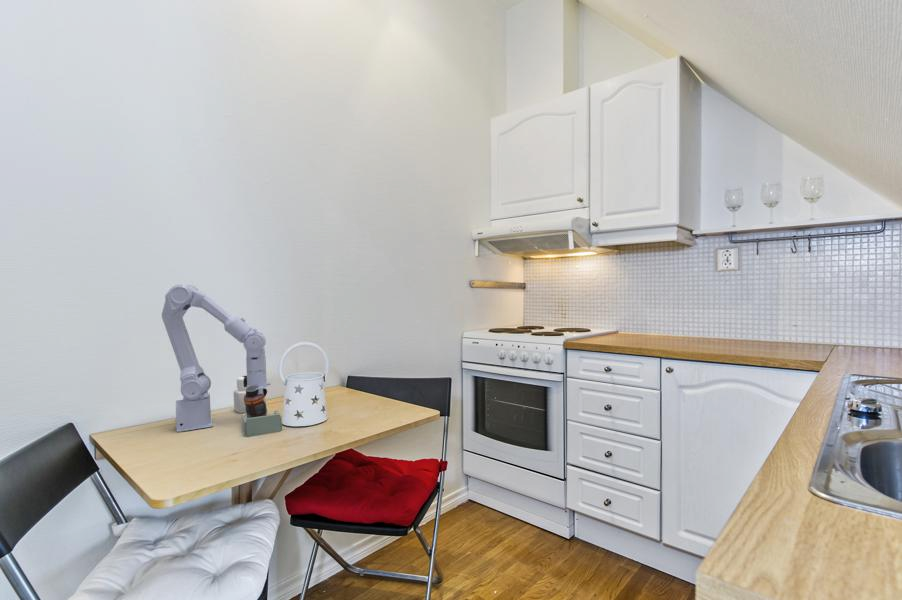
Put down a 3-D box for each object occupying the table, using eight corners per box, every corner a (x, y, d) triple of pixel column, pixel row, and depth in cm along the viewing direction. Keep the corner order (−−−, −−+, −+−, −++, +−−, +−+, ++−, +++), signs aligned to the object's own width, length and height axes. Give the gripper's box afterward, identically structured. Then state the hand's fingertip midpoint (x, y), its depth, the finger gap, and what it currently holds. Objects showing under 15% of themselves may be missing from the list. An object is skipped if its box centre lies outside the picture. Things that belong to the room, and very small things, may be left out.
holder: (245, 437, 127) (244, 419, 127) (242, 428, 135) (242, 412, 135) (282, 431, 132) (281, 414, 132) (278, 423, 140) (277, 407, 140)
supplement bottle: (272, 416, 143) (267, 384, 140) (260, 426, 138) (254, 394, 134) (256, 413, 145) (251, 382, 141) (243, 423, 140) (237, 391, 136)
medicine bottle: (255, 406, 163) (253, 373, 163) (261, 410, 158) (259, 376, 158) (234, 410, 159) (232, 376, 159) (239, 414, 153) (238, 379, 153)
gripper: (272, 372, 140) (274, 415, 140) (267, 366, 152) (268, 406, 153) (247, 374, 136) (249, 419, 136) (244, 368, 149) (246, 409, 149)
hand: (258, 412), depth 144 cm, fingers closed
